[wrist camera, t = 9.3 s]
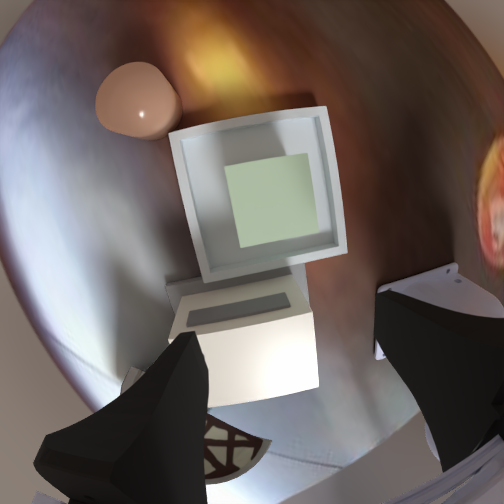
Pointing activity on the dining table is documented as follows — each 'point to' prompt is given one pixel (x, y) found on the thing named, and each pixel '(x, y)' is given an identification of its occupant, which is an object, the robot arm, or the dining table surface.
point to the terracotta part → (138, 102)
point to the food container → (221, 444)
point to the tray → (218, 198)
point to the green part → (272, 199)
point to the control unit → (250, 333)
